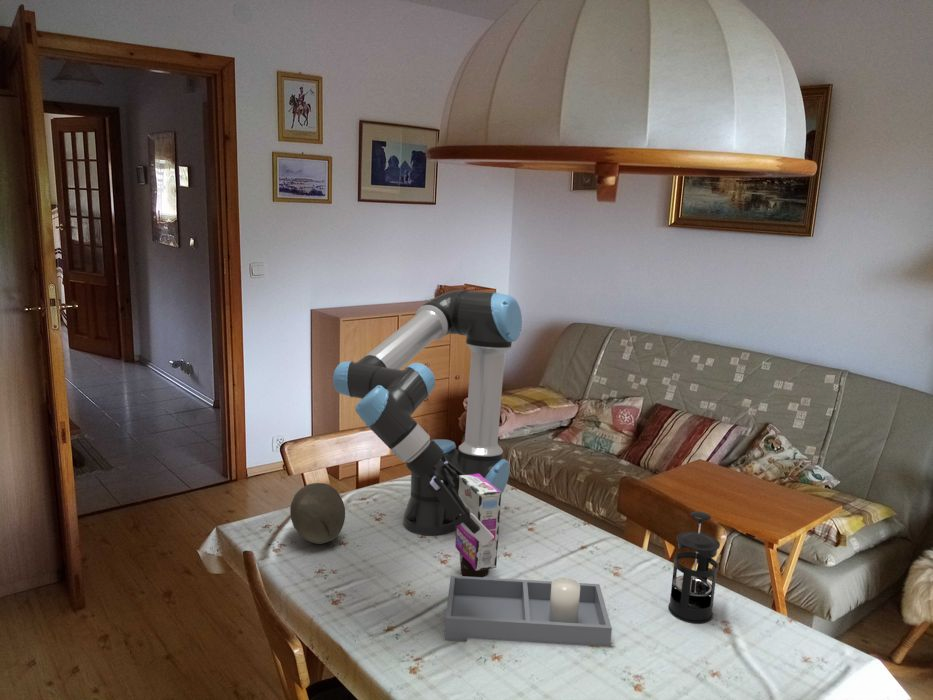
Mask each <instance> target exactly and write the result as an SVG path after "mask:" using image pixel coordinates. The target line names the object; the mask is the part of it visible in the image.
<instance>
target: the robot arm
mask: <svg viewBox="0 0 933 700" xmlns="http://www.w3.org/2000/svg"><path fill="white" fill-rule="evenodd" d="M522 317H523V316H522V310H521V307H520V305H519V302H518V300H517V299H516V298H515V297H514V296H512V295H511V294H510V295H509V294H505V293H500V292H487V291H475V290H467V289H457V290H455V289H454V290H451V291H447V292H445V293H442V294H440V295H438V296H436V297H434V298H431V299H430V300H428V301H427V302H425V303H424V304H422V305H421V306H420V307H418V309H417V310H416V311H415V315H414V316H413V317H412V318H411V319H410V320H409V321H407V322H406V323H405V324H403V325H402V326H401V327H400V328H398V329H396V331H394V332H393V333H392V334H391V335H390V336H388V337H387V338H386V339H385V340H384V341H382V342H381V343H380V344H378V345H377V346H376V347H374V348H373V349H372V350H371V351H369V352H368V353H367V354H366V355H364V356H363V357H362V358H360V360H358V361H356V362H354V361H353V360H352V361H348V360H347V361H342V362H339V364H338V365H337V366H336V367H335V369H334V372H333V376H332V382H333V383H332V384H333V387H334V390H335V392H336V393H338V394H341V395H344V396H348V397H350V398H356V399H360V400H359V402H358V403H356V405H355V409H354V410H355V412H356V414H357V416H358V417H359V418H360V419H361V421H363V423H364V424H365V425H366V426H367V427H368V428H369V429H370V430H371V431H372V432H373V433H374V435H376V436H377V437H378V438H379V439H380V440H381V441H382V443H384V444H385V445H386V446H387V447H388V449H390V450H391V451H392V452H391V453H392V456H394V457H395V456H396V457H397V458H398V459H399V460H400V461H401V462H402V463H405V464H406V467H407V468H408V470H409V471H410V473H411V475H410V497H409V501H408V503H407V506H406V507H405V510H404V513H403V525H404V527H405V528H406V529H407V530H409V531H410V532H412V533H414V534H418V535H423V536H425V535H426V536H441V535H446V534H448V533H451V532H454V531H456V526H459V525H460V524H461V523H462V524H463V525H464V526H465V527H466V528H467V529H468V530H469V531H470V532H471V533H472V534H473V535H474V536H475V538H476V539H477V540H478V541H479V542H480V543H481V544H482V545H483V546H484V545H486V544H487V543H488V542H489V541H491V540H492V539H493V538H494V536H493V534H492V533H491V532H490V531H489V530H488V529H487V528H486V527H485V526H484V525H483V524H482V523H481V522H480V521H479V520H478V519H477V518H476V517H475V515H474V514H473V513H471V514H470V513H469V511H468V510H467V508H466V507H465V505H464V503H463V502H462V500H461V498H460V497H459V495H458V490H459V476H460V475H468V474H480V475H481V476H482V477H484V478H485V479H486V480H487V481H488V482H490V483H491V484H492V485H493V486H494V487H496V488H497V489H498V490H499V491H500V492H501V495H502V494H503V493H504V491H505V489H506V486H507V484H508V481H509V478H510V472H511V471H510V470H511V466H510V462H509V461H508V460H507V459H505V458H503V455H504V454H503V452H504V451H503V449H502V447H501V446H500V445H499V443H498V440H499V431H500V430H499V429H500V419H501V418H500V417H501V406H502V404H501V403H502V394H503V381H504V367H505V356H506V355H505V354H506V353H507V352H509V350H510V349H511V348H512V343H514V342H516V341H517V340H518V339H519V338H520V335H521V331H522V328H523V327H522V326H523V325H522V324H523V320H522ZM447 335H459V336H466V337H465V338H466V340H465V345H466V346H467V347H468V348H469V349H470V351H471V354H470V366H469V367H470V368H469V378H468V379H469V380H468V391H467V393H468V395H467V396H468V397H467V408H466V417H465V418H466V421H465V435H464V436H465V437H464V441H463V442H462V443H461V444H460V445H458V449H456V448H457V446H456V443H455V442H454V441H453V440H450V439H442V438H441V439H437V438H436V439H431V435H429V434H428V432H427V431H426V430H424V428H423V427H422V426H420V424H419V423H418V422H417V421H416V420H415V419H414V418H413V417H412V415H413V414H414V412H416V410H417V409H418V408H419V407H420V406H421V405H422V404H423V403H424V401H426V400H427V399H428V397H429V395H430V393H431V392H432V391H433V389H434V388H435V386H436V378H435V375H434V373H433V371H432V370H431V369H430V368H429V367H428V366H427V365H425V364H423V363H421V362H413V363H410V364H409V365H407V364H408V363H409V362H410V361H411V360H413V359H414V358H415V357H416V356H417V355H418V354H420V353H421V351H423V350H424V349H425V348H427V347H429V345H430V344H431V343H432V342H433V341H438V340H441V339H443V338H444V337H445V336H447ZM406 365H407V366H406ZM403 367H404V369H402V368H403ZM430 439H431V440H430ZM460 514H461V515H460Z"/></svg>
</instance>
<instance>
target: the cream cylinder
mask: <svg viewBox="0 0 933 700" xmlns="http://www.w3.org/2000/svg"><path fill="white" fill-rule="evenodd" d="M579 583H580V582H578V581H576V580H575V579H572V578H569V577H558V578H555V579H553V580H552V583H551V597H550V611H549V620H550V622H563V623H578V611H579V598H580V584H579Z"/></svg>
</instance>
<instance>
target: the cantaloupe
mask: <svg viewBox="0 0 933 700" xmlns="http://www.w3.org/2000/svg"><path fill="white" fill-rule="evenodd" d="M345 507H346V506H345V503H344V501H343V499H342V497H341V495H340V493H339V492H338V490H337V489H335V488H334V486H332V485H330V484H328V483H322V482H314V483H310V484H307V485H305V486H303V487H301V488H300V489H299V490H297V492H296V493H295V494H294V495H293V499H292V501H291V502H290V509H289V510H290V511H289V514H290V518H291V523H292V525H293V528H294V529H295V531H296V532H297V534H299V536H301V538H302V539H304V540H306V541H308V542H310V543H313V544H316V545H324V544H326V543H328V542H331V541H334V540H335V539H337V537H338V536H339V535H340V533H341V531H342V529H343V526H344V524H345V521H346V508H345Z"/></svg>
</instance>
